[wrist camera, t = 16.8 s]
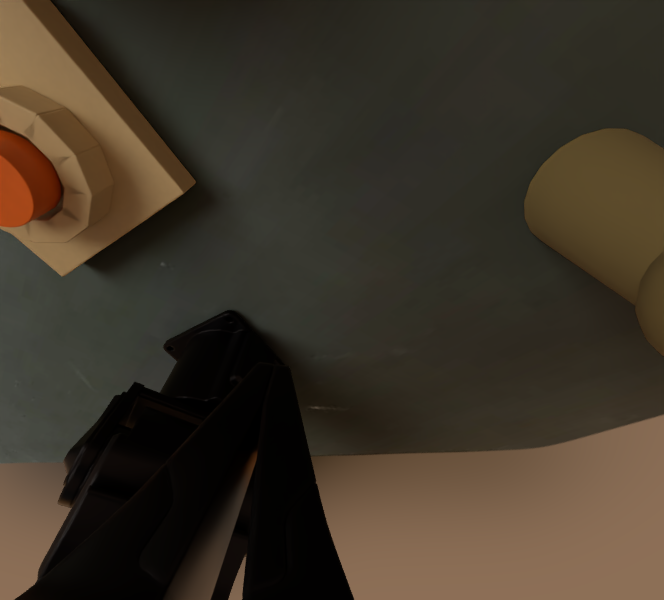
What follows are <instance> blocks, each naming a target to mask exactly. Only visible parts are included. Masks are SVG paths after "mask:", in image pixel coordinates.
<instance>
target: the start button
mask: <svg viewBox="0 0 664 600" xmlns="http://www.w3.org/2000/svg"><path fill="white" fill-rule="evenodd" d="M60 198H61V183H60V180H59V177H58V174H57V172H56V170H55V169H54V167H53V165H52V164H51V162H50V161H49V160H48V159H47V157H46V156H45V155H44V154H43V153H42V152H41V151H40V150H39V149H38V148H37V147H35V146H34V145H33V144H32V143H30V142H29V141H27V140H26V139H24V138H22V137H20V136H18V135H16V134H13V133H10V132H7V131H2V130H0V226H2V227H20V226H23V225H25V224H27V223H29V222H31V221H32V220H34V219H36V218H38V217H40V216H41V215H43V214H45V213H47V212H48V211H50V210H52V209H53V208H55V207H56V206H57V204H58V203H59V201H60Z"/></svg>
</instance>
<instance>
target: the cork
mask: <svg viewBox="0 0 664 600" xmlns="http://www.w3.org/2000/svg"><path fill="white" fill-rule="evenodd" d="M524 213H525V220H526V222H527V224H528V227H529V229H530V231H531V232H532V233H533V234H534V235H535V236H536V237H538V238H539V239H540V240H541V241H542V242H544V243H545V244H546V245H548V246H549V247H551V248H552V249H554V250H555V251H557V252H558V253H560V254H561V255H562V256H564V257H565V258H567V259H568V260H570V261H571V262H573V263H574V264H575V265H577V266H578V267H580V268H581V269H583V270H584V271H586V272H587V273H589V274H590V275H591V276H593V277H594V278H596V279H597V280H599V281H600V282H602V283H603V284H604V285H606V286H607V287H609V288H610V289H612V290H613V291H615V292H616V293H617V294H619V295H620V296H622V297H623V298H625V299H626V300H628V301H629V302H631V303H632V304H633V305H635V313H636V316H637V319H638V322H639V325H640V327H641V329H642V332H643V334H644V336H645V338H646V340H647V341H648V342H649V343H650V344H651V345H652V346H653V347H654V348H655V349H656V350H657V351H658V352H659V353H660V354H661V355H662V356H663V357H664V149H663V148H661V147H660V146H658V145H657V144H655V143H654V142H652V141H651V140H649V139H648V138H646V137H645V136H643V135H640V134H638V133H636V132H633V131H631V130H628V129H601V130H598V131H594V132H591V133H588V134H584V135H581V136H579V137H578V138H576V139H574V140H573V141H571V142H569V143H567V144H566V145H564V146H562V147H561V148H559V149H558V150H557V151H556V152H555V153H554V154H553V155H552V156H551V157H550V158H549V159H548V160H546V161H545V162H544V163H543V164H542V166H541V167H540V169H539V170H538V172H537V173H536V175H535V176H534V178H533V179H532V181H531V182H530V185H529V188H528V191H527V194H526V197H525V200H524Z"/></svg>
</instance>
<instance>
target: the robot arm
mask: <svg viewBox="0 0 664 600" xmlns="http://www.w3.org/2000/svg"><path fill="white" fill-rule="evenodd" d="M228 317H231V318H232V319H229V318H228ZM171 346H172V347H171ZM163 348H164V350H165V351H166V352H167V353H168V354H170V355H171V356H172V357H173V358H174V359H175V360H176V361H177V363H176V365H175V367H174V368H173V370H172V372H171V374H170V375H169V377H168V379H167V381H166V383H165V384H164V386H163V388H162V390H161V392H160V393H159V392H156V391H153V390H151V389H148V388H145V387H144V385H142V384H140V383H137V382H134V383H133V385H132V386H131V387H130V389H129V390H128V392H123V393H122V394H121V395H115V397H114V398H113V399H112V401H111V402H110V404H109V405H108V407H107V408H106V410H105V411H104V413H103V414H102V415H101V417H100V418H99V419H98V421H97V422H96V423H95V424H94V425H93V426H92V427H91V428H90V429H89V430H88V431H87V433H86V434H85V435H84V436H83V437H82V438H81V439H80V440H79V441H78V442H77V443H76V444H75V445H74V446H73V447H72V448H71V449H70V451H69V452H68V454H67V455H66V457H65V459H64V461H63V462H64V465H65V469H66V473H67V476H66V479H65V481H64V484H63V485H64V486H65V487H64V488H63V491H62V493H61V495H60V498H59V500H58V504H59V505H62V506H66V507H70V508H72V509H71V510H70V512H69V514H68V516H67V518H66V520H65V521H64V523H63V525H62V527H61V529H60V531H59V532H58V534H57V536H56V538H55V540H54V542H53V543H52V545H51V547H50V549H49V551H48V553H47V554H46V556H45V558H44V560H43V562H42V564H41V566H40V568H39V571H38V580H37V582H36V583H35V585H33V586H32V587H31V588H29V589H28V590H27V591H26V592H24V593H23V594H22V595H20V596H19V597H17V598H16V599H15V600H228V598H229V595H230V592H231V589H232V586H233V583H234V580H235V578H236V575H237V573H238V570H239V568H240V565H241V563H242V560H243V558H244V557H246V566H245V576H244V584H243V599H242V600H354V598H353V595H352V592H351V590H350V587H349V584H348V581H347V579H346V576H345V573H344V570H343V568H342V565H341V562H340V560H339V557H338V554H337V551H336V549H335V546H334V543H333V540H332V537H331V534H330V531H329V528H328V525H327V521H326V518H325V514H324V510H323V506H322V503H321V499H320V495H319V490H318V486H317V484H316V478H315V474H314V470H313V465H312V461H311V456H310V452H309V448H308V444H307V439H306V435H305V431H304V426H303V422H302V418H301V413H300V409H299V405H298V400H297V396H296V392H295V387H294V383H293V379H292V375H291V370H290V367H289V366H285V365H284V364H283V363H282V362H281V361H280V359H279V358H278V357H277V356H276V355H275V354H274V353H273V352H272V351H271V350H270V348H269V347H268V346H267V345H266V344H265V343H264V342H263V341H262V340H261V339H260V338H259V337H258V336H257V334H256V333H254V331H253V330H252V329H251V328H250V327H249V326H248V325H247V324H246V323H245V322H244V321H243V320H242V319H241V318H240V316H239V315H238V314H237V313H236V312H234V311H232V310H227V311H225V312H223V313H221V314H219V315H217V316H215V317H213V318H211V319H209V320H207V321H205V322H203V323H201V324H199V325H197V326H195V327H193V328H191V329H189V330H187V331H185V332H183V333H181V334H179V335H177V336H175V337H173V338H171V339H169V340H167V341H166V343H165V344H164V347H163Z"/></svg>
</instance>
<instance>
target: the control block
mask: <svg viewBox="0 0 664 600" xmlns="http://www.w3.org/2000/svg"><path fill="white" fill-rule="evenodd" d="M0 130H2V131H7V132H10V133H13V134H16V135H18V136H20V137H22V138H24V139H26V140H27V141H29V142H30V143H32V144H33V145H34V146H35V147H37V148H38V149H39V150H40V151H41V152H42V153H43V154H44V155H45V156H46V157H47V159H48V160H49V161H50V162H51V164H52V165H53V167H54V169H55V170H56V172H57V174H58V177H59V180H60V183H61V198H60V201H59V203H58V204H57V206H56V207H55V208H53V209H52V210H50V211H48V212H47V213H45V214H43V215H41V216H40V217H38V218H36V219H34V220H32V221H31V222H29V223H27V224H25V225H23V226H20V227H2V226H0V229H2V230H4V231H7V232H9V233H11V234H13V235H14V236H15V237H16V238H17V239H18V240H20V241H21V242H22V243H23V244H24V245H26V246H27V247H28V248H29V249H30V250H31V251H33V252H34V253H35V254H36V255H37V256H39V257H40V258H41V259H42V260H43V261H44V262H46V263H47V264H48V265H49V266H50V267H51V268H53V269H54V270H55V271H56V272H57V273H59V274H60V275H61V276H62V277H63V276H65V275H67V274H68V273H70V272H71V271H72V270H74V269H75V268H77V267H78V266H80V265H81V264H83V263H84V262H86V261H87V260H88V259H90V258H91V257H93V256H94V255H96V254H97V253H99V252H100V251H101V250H103V249H104V248H106V247H107V246H109V245H110V244H112V243H113V242H115V241H116V240H117V239H119V238H120V237H122V236H123V235H125V234H126V233H128V232H129V231H130V230H132V229H133V228H135V227H136V226H138V225H139V224H141V223H142V222H144V221H145V220H146V219H148V218H149V217H151V216H152V215H154V214H155V213H157V212H158V211H159V210H161V209H162V208H164V207H165V206H167V205H168V204H170V203H171V202H173V201H174V200H175V199H177V198H178V197H180V196H181V195H183V194H184V193H185V192H186V191H187V190H189V189H190V188H191V187H192V186H193V185H194V184H195V183H196V181H195V180H194V178H193V177H192V176H191V175H190V174H189V172H188V171H187V170H186V169H185V167H184V166H183V165H182V164H181V162H180V161H179V160H178V159H177V157H176V156H175V155H174V154H173V152H172V151H171V150H170V149H169V147H168V146H167V145H166V144H165V142H164V141H163V140H162V139H161V137H160V136H159V135H158V134H157V132H156V131H155V130H154V129H153V128H152V126H151V125H150V124H149V123H148V121H147V120H146V119H145V118H144V116H143V115H142V114H141V113H140V111H139V110H138V109H137V108H136V106H135V105H134V104H133V103H132V101H131V100H130V99H129V98H128V96H127V95H126V94H125V93H124V91H123V90H122V89H121V88H120V86H119V85H118V84H117V83H116V82H115V80H114V79H113V78H112V77H111V75H110V74H109V73H108V72H107V70H106V69H105V68H104V67H103V65H102V64H101V63H100V62H99V60H98V59H97V58H96V57H95V55H94V54H93V53H92V52H91V50H90V49H89V48H88V47H87V45H86V44H85V43H84V42H83V40H82V39H81V38H80V37H79V36H78V34H77V33H76V32H75V31H74V29H73V28H72V27H71V26H70V24H69V23H68V22H67V21H66V19H65V18H64V17H63V16H62V14H61V13H60V12H59V11H58V9H57V8H56V7H55V6H54V4H53V3H52V2H51V1H50V0H0Z"/></svg>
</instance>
